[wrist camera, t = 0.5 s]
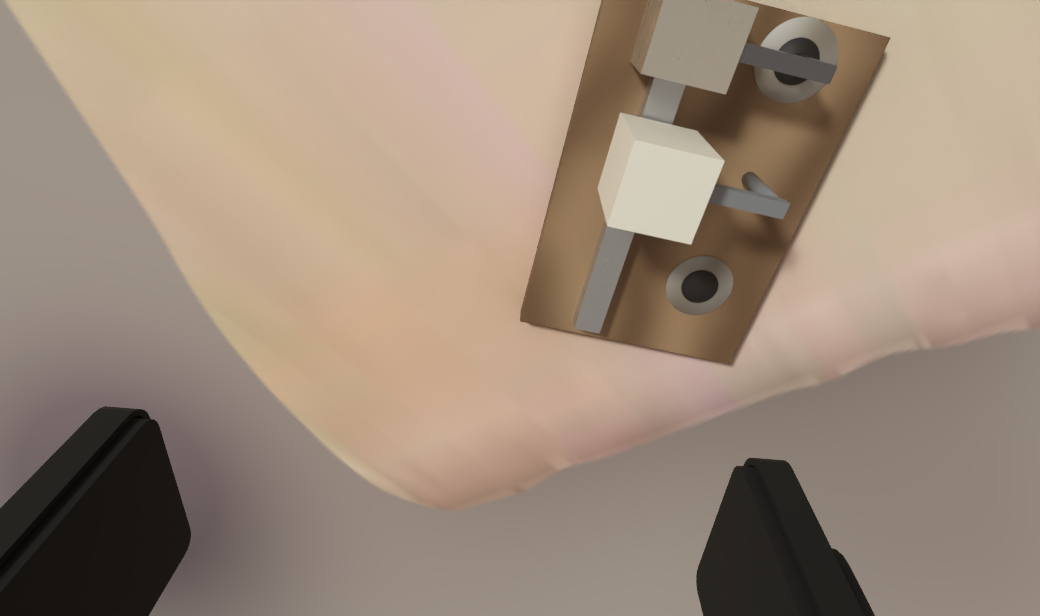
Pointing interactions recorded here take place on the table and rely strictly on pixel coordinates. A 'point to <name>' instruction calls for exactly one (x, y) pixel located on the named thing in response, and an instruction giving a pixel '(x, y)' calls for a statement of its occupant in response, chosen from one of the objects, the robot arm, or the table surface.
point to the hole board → (745, 148)
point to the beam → (671, 66)
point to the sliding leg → (671, 181)
